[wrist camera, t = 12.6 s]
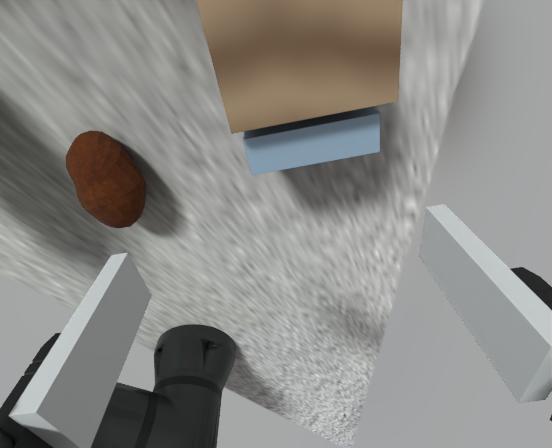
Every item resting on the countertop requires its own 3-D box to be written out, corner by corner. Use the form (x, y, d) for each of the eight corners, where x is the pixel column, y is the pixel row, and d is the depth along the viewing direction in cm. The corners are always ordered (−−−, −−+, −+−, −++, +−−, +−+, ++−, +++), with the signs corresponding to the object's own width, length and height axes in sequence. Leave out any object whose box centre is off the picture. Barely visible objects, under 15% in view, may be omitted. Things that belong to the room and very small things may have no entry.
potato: (125, 116, 35) (93, 139, 28) (171, 200, 41) (153, 235, 34) (66, 135, 36) (22, 161, 29) (120, 214, 42) (94, 250, 35)
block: (347, 123, 36) (379, 162, 26) (256, 140, 37) (254, 185, 27) (345, 85, 34) (380, 113, 24) (248, 104, 34) (242, 139, 24)
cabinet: (352, 126, 36) (394, 177, 25) (254, 145, 37) (250, 203, 25) (346, -21, 28) (404, -49, 17) (222, 7, 29) (195, -1, 18)
